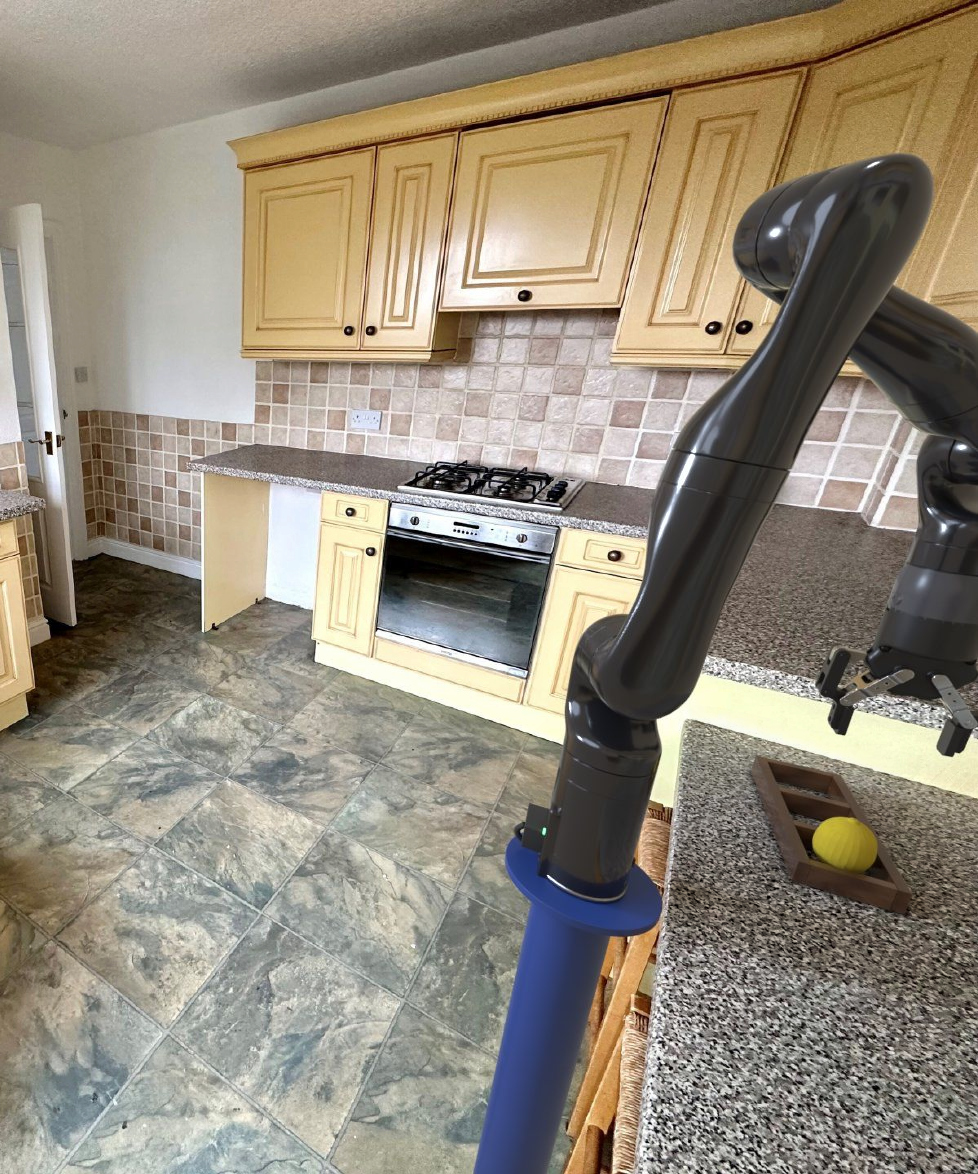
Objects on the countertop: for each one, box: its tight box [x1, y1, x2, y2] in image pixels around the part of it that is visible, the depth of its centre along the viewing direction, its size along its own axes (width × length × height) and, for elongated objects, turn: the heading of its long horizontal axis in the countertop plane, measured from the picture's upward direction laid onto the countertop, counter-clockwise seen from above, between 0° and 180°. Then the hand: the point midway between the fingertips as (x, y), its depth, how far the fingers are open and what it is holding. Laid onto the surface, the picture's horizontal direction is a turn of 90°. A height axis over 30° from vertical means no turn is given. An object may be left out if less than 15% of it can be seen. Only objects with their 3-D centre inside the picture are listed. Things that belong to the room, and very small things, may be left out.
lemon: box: [812, 817, 877, 874], centre depth 78 cm, size 6×6×8 cm
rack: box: [750, 754, 914, 915], centre depth 86 cm, size 10×27×3 cm, turn 148°
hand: (889, 742), depth 72 cm, fingers open, 8 cm apart
